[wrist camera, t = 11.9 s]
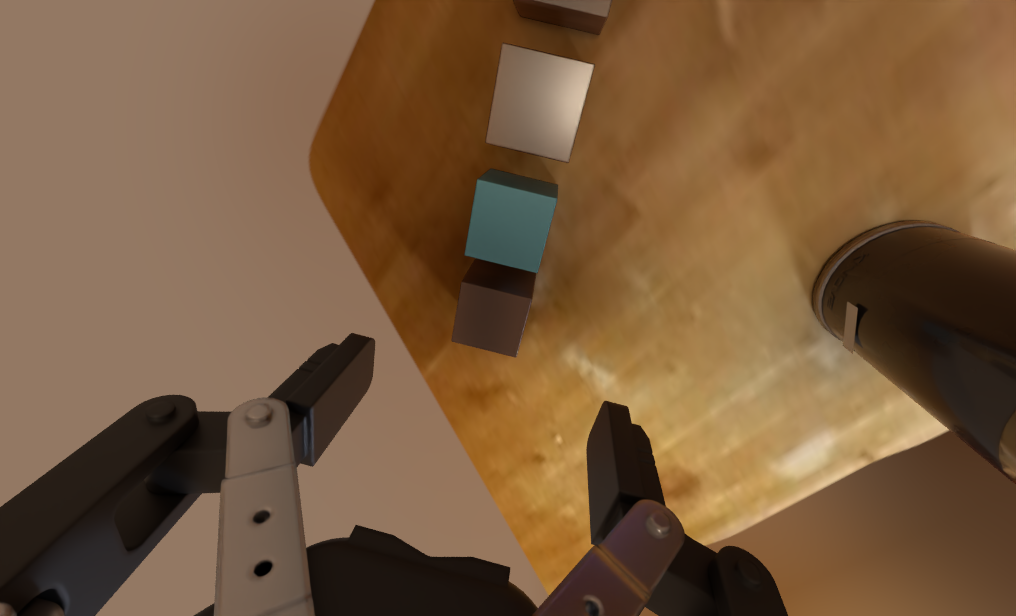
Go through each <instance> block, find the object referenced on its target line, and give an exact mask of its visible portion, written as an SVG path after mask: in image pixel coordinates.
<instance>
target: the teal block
mask: <svg viewBox="0 0 1016 616" xmlns="http://www.w3.org/2000/svg"><path fill="white" fill-rule="evenodd" d="M557 195H558V185H557V184H552V183H548V182H544V181H540V180H536V179H532V178H528V177H524V176H519V175H515V174H511V173H507V172H503V171H499V170H495V169H490V170H488V171H487V172H486V173H485V174H483V175H482V176H481V177H480V178H478V179H477V184H476V189H475V195H474V201H473V207H472V213H471V219H470V225H469V231H468V237H467V243H466V249H465V255H466V256H470V257H474V258H478V259H482V260H486V261H490V262H494V263H498V264H502V265H506V266H510V267H515V268H519V269H523V270H527V271H531V272H535V273H538V269H539V266H540V262H541V258H542V254H543V251H544V247H545V243H546V239H547V236H548V232H549V228H550V224H551V221H552V217H553V213H554V209H555V206H556V202H557Z"/></svg>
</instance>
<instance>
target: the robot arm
mask: <svg viewBox="0 0 1016 616" xmlns="http://www.w3.org/2000/svg"><path fill="white" fill-rule="evenodd" d="M813 307H814V311H815V315H816V317H817V319H818V320H819V322H820V323H821V325H822V326H823V327H824V328H825V329H826V330H827V331H829V332H830V333H831V334H832V335H833V336H835V337H836V338H838V339H839V340H841V341H843V346H844V347H845V348H847V349H848V350H849V351H850V352H851V353H852V354H853V350H854V351H855V352H856V353H858V354H859V355H860V356H861V357H862V358H863V359H864V360H866V361H867V362H868V363H869V364H870V365H872V366H873V367H874V368H875V369H876V370H878V371H879V372H880V373H881V374H883V375H884V376H885V377H886V378H887V379H889V380H890V381H891V382H892V383H893V384H895V385H896V386H897V387H898V388H899V389H901V390H902V391H903V392H904V393H906V394H907V395H908V396H909V397H910V398H912V399H913V400H914V401H915V402H916V403H918V404H919V405H920V406H921V407H922V408H924V409H925V410H926V411H927V412H929V413H930V414H931V415H932V416H933V417H935V418H936V419H937V420H938V421H939V422H941V423H942V424H943V425H944V426H945V427H947V428H948V429H949V430H950V431H952V432H953V433H954V434H955V435H956V436H958V437H959V438H960V439H961V440H963V441H964V442H965V443H966V444H967V445H968V446H970V447H971V448H972V449H973V450H975V451H976V452H977V453H978V454H979V455H981V456H982V457H983V458H984V459H986V460H987V461H988V462H989V463H990V464H991V465H993V466H994V467H995V468H996V469H998V470H999V471H1000V472H1001V473H1002V474H1004V475H1005V476H1006V477H1007V478H1008V479H1010V480H1011V481H1013V482H1014V483H1015V484H1016V250H1013V249H1010V248H1007V247H1004V246H1000V245H997V244H995V243H992V242H988V241H985V240H982V239H979V238H975V237H972V236H969V235H966V234H962V233H960V232H958V231H956V230H954V229H952V228H949V227H946V226H942V225H939V224H936V223H932V222H926V221H902V222H896V223H892V224H888V225H884V226H881V227H878V228H876V229H873V230H871V231H869V232H867V233H865V234H863V235H861V236H859V237H857V238H856V239H854V240H853V241H851V242H850V243H848V244H847V245H846V246H844V247H843V248H842V249H841V250H840V251H838V252H837V253H836V254H835V255H834V256H833V257H832V259H831V260H830V261H829V262H828V263H827V265H826V266H825V267H824V269H823V270H822V272H821V274H820V276H819V278H818V280H817V282H816V285H815V289H814V293H813ZM374 353H375V340H374V339H373V338H369V337H366V336H361V335H358V334H354V333H351V334H350V335H349V336H348V337H347V338H346V339H345V340H344V341H343V342H342V343H341V344H340V345H337V344H333V343H332V344H329V345H327V346H325V347H323V348H321V349H318V350H317V351H316V352H315V353H314V354H313V355H312V356H311V357H310V358H309V359H308V360H307V361H305V362H304V363H303V364H302V365H301V366H300V367H299V369H297V370H296V371H295V372H294V373H293V374H292V375H291V376H290V377H289V378H288V379H287V380H285V381H284V382H283V383H282V384H281V385H280V386H279V387H278V388H277V389H276V390H275V391H274V392H273V393H272V394H271V395H270V396H269V397H268V398H257V399H253V400H250V401H247V402H245V403H243V404H241V405H239V406H238V407H236V408H235V409H234V410H233V411H232V412H198V411H197V408H196V404H195V402H194V401H193V400H192V399H191V398H189V397H186V396H182V395H166V396H160V397H156V398H153V399H150V400H147V401H145V402H143V403H141V404H139V405H138V406H136V407H134V408H133V409H132V410H130V411H129V412H128V413H126V414H125V415H124V416H122V417H121V418H120V419H118V420H117V421H116V422H114V423H113V424H111V425H110V426H109V427H108V428H106V429H105V430H103V431H102V432H101V433H99V434H98V435H97V436H95V437H94V438H93V439H91V440H90V441H89V442H87V443H86V444H85V445H83V446H82V447H81V448H79V449H78V450H77V451H75V452H74V453H72V454H71V455H70V456H69V457H67V458H66V459H65V460H63V461H62V462H60V463H59V464H58V465H57V466H55V467H54V468H52V469H51V470H50V471H48V472H47V473H46V474H45V475H43V476H42V477H40V478H39V479H38V480H36V481H35V482H34V483H32V484H31V485H29V486H28V487H27V488H25V489H24V490H23V491H21V492H20V493H19V494H17V495H16V496H15V497H13V498H12V499H11V500H9V501H8V502H7V503H5V504H4V505H3V506H1V507H0V616H95V615H96V614H97V613H98V612H99V611H100V609H101V608H102V607H103V606H104V604H106V602H107V601H108V600H109V599H110V598H111V597H112V596H113V594H114V593H115V592H116V591H117V590H118V589H119V588H120V586H121V585H122V584H123V583H124V582H125V581H126V580H127V578H128V577H129V576H130V575H131V574H132V573H133V572H134V570H135V569H136V568H137V567H138V566H139V565H140V564H141V562H142V561H143V560H144V559H145V558H146V557H147V556H148V554H149V553H150V552H151V551H152V550H153V549H154V548H155V546H156V545H157V544H158V543H159V542H160V540H161V539H162V538H163V537H164V536H165V535H166V534H167V533H168V532H169V530H170V529H171V528H172V527H173V526H174V525H175V524H176V522H177V521H178V520H179V519H180V518H181V517H182V515H183V514H184V513H185V512H186V511H187V510H188V509H189V508H190V506H191V505H192V504H193V503H194V502H195V501H196V499H197V498H198V497H199V496H200V495H201V494H202V493H220V510H219V529H218V548H217V567H216V585H215V603H214V604H212V605H210V606H209V607H207V608H205V609H204V610H203V611H201V612H199V613H198V614H196V615H194V616H639V615H640V613H641V612H642V610H643V609H644V607H646V608H648V609H649V610H651V611H652V612H654V613H655V614H657V615H658V616H788V614H787V612H786V609H785V606H784V604H783V601H782V599H781V596H780V593H779V591H778V588H777V586H776V583H775V581H774V579H773V577H772V575H771V574H770V572H769V571H768V570H767V568H766V567H765V566H764V565H763V564H762V563H761V562H760V561H759V560H758V559H757V558H756V557H754V556H753V555H752V554H750V553H749V552H747V551H745V550H743V549H741V548H739V547H735V546H726V547H723V548H722V549H721V550H720V551H719V552H718V553H716V552H714V551H713V550H711V549H709V548H707V547H706V546H704V545H702V544H700V543H699V542H697V541H695V540H693V539H692V538H690V537H689V536H687V535H686V534H685V533H684V529H683V527H682V524H681V523H680V521H679V519H678V518H677V517H676V515H675V514H674V513H673V512H672V511H671V510H670V509H668V508H667V507H666V505H665V501H664V497H663V493H662V489H661V485H660V481H659V477H658V473H657V468H656V466H655V460H654V456H653V455H652V448H651V444H650V440H649V438H648V436H647V435H646V433H645V432H644V430H643V429H642V428H641V426H639V425H636V424H632V423H631V418H630V413H629V409H628V407H627V406H624V405H620V404H616V403H612V402H609V401H604V402H603V404H602V406H601V408H600V411H599V413H598V415H597V418H596V420H595V422H594V425H593V427H592V429H591V432H590V434H589V438H588V442H587V471H588V490H589V509H590V528H591V544H593V545H594V546H593V547H592V548H591V549H590V550H589V551H588V553H587V554H586V555H585V556H584V557H583V558H582V559H581V561H580V562H579V563H578V564H577V565H576V566H575V567H574V568H573V570H572V571H571V572H570V573H569V574H568V575H567V576H566V577H565V579H564V580H563V581H562V582H561V583H560V584H559V585H558V586H557V588H556V589H555V590H554V591H553V592H552V593H551V594H550V595H549V597H548V598H547V599H546V600H545V601H544V602H543V603H542V605H541V606H540V607H539V608H537V607H536V605H535V604H534V603H533V602H532V600H531V599H530V598H529V597H528V596H527V595H526V594H525V593H524V592H523V591H522V590H520V589H519V588H518V587H517V586H515V585H514V584H512V583H511V582H509V574H510V567H507V566H503V565H500V564H496V563H492V562H489V561H485V560H481V559H478V558H474V557H430V556H427V555H425V554H424V553H422V552H420V551H419V550H417V549H415V548H414V547H412V546H410V545H409V544H407V543H405V542H404V541H402V540H401V539H399V538H397V537H396V536H394V535H391V534H387V533H384V532H379V531H376V530H373V529H369V528H366V527H362V526H358V525H356V526H355V527H354V529H353V531H352V533H351V535H350V537H349V538H336V539H330V540H326V541H322V542H320V543H317V544H314V545H311V546H309V547H307V548H306V544H305V535H304V527H303V518H302V510H301V501H300V493H299V484H298V476H297V467H298V465H299V464H300V463H301V464H305V465H309V466H314V465H315V463H316V462H317V460H318V459H319V458H320V456H321V455H322V453H323V452H324V451H325V449H326V448H327V446H328V445H329V444H330V442H331V441H332V440H333V438H334V437H335V435H336V434H337V432H338V431H339V430H340V428H341V427H342V425H343V424H344V423H345V421H346V420H347V419H348V417H349V416H350V414H351V413H352V412H353V410H354V409H355V408H356V406H357V405H358V403H359V402H360V401H361V399H362V398H363V396H364V395H365V394H366V392H367V390H368V388H369V386H370V384H371V381H372V377H373V367H374Z"/></svg>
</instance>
